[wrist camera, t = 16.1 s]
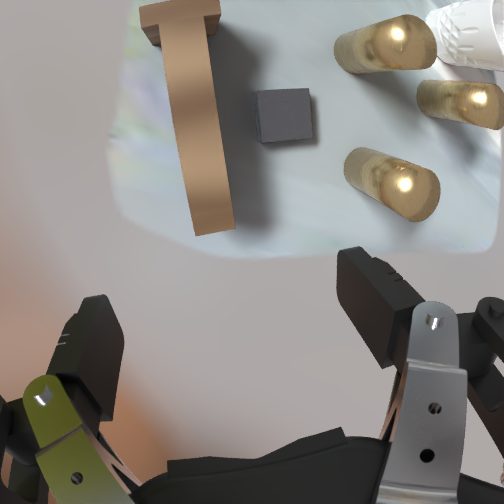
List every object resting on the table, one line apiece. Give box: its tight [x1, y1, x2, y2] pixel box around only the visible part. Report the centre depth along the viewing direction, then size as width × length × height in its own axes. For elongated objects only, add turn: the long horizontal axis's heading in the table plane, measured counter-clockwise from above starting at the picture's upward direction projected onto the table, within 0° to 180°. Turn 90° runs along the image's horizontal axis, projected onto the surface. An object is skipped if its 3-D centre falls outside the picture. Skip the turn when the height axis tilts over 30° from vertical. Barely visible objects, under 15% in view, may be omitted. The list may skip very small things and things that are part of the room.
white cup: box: [425, 0, 504, 72], centre depth 18 cm, size 8×8×10 cm
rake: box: [139, 0, 236, 236], centre depth 20 cm, size 16×5×6 cm, turn 8°
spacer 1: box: [334, 15, 437, 74], centre depth 19 cm, size 4×4×9 cm
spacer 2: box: [344, 147, 440, 222], centre depth 24 cm, size 4×4×9 cm
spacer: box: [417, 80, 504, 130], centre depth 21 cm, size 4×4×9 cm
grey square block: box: [253, 88, 313, 143], centre depth 24 cm, size 4×4×2 cm
